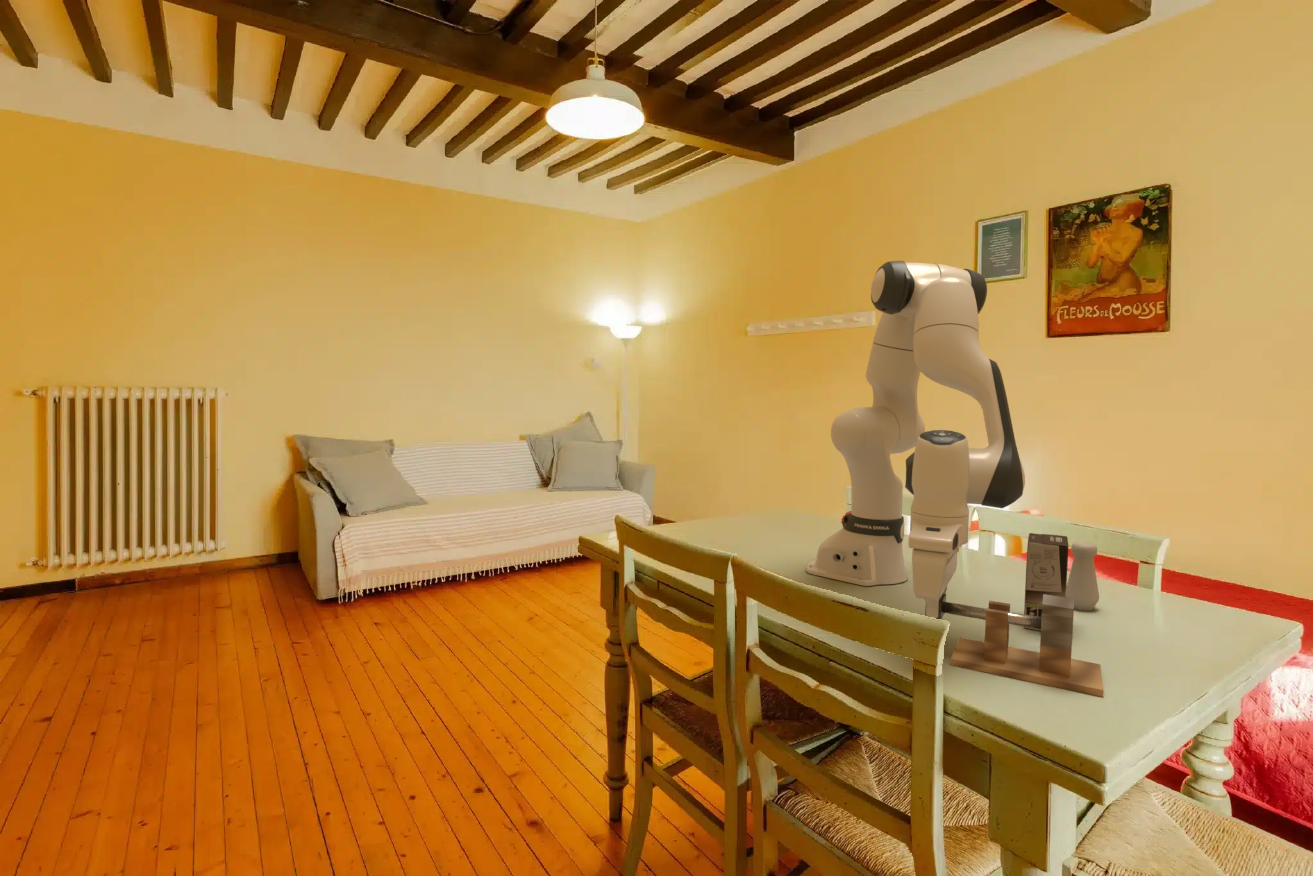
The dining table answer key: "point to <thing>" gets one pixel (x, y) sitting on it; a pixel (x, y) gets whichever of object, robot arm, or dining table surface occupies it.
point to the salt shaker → (1083, 577)
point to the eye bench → (1028, 665)
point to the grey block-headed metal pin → (984, 614)
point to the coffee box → (1045, 570)
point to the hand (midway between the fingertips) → (935, 611)
